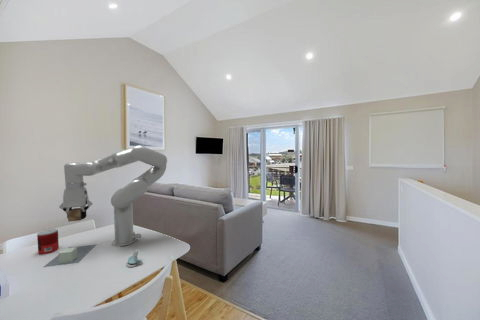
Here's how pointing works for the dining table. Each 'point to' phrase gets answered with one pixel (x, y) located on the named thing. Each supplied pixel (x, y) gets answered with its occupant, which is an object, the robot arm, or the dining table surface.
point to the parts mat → (81, 253)
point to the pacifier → (133, 259)
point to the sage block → (67, 255)
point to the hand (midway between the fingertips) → (77, 218)
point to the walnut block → (74, 214)
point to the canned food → (47, 241)
